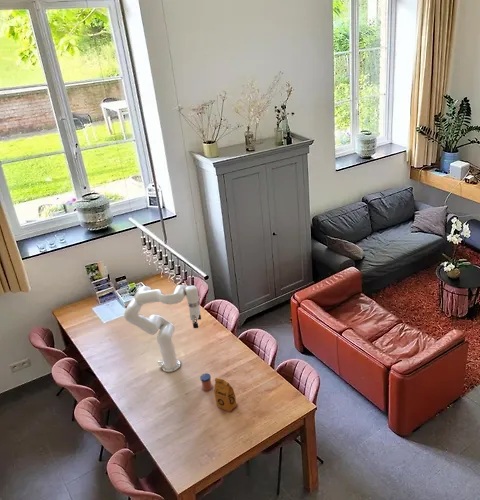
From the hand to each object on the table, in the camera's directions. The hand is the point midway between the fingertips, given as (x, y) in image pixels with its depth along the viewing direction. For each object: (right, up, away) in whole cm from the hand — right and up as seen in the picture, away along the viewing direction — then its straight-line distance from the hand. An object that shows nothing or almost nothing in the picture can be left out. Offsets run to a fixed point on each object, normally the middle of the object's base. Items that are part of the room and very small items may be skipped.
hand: (197, 323), depth 362 cm
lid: (+8, -35, -8) cm, 37 cm away
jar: (+8, -43, -3) cm, 44 cm away
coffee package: (+25, -52, -18) cm, 60 cm away
